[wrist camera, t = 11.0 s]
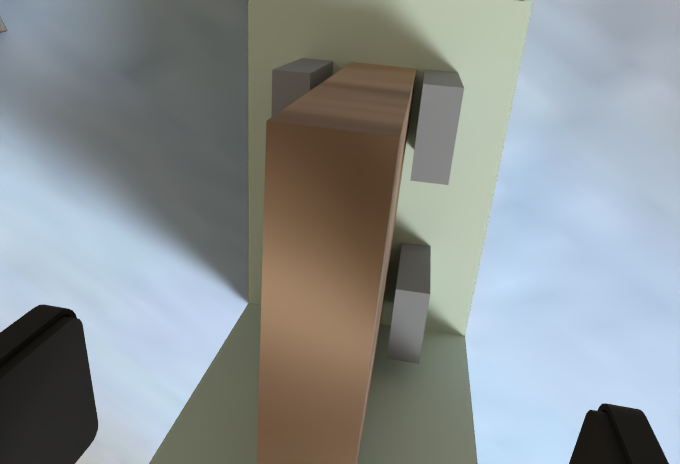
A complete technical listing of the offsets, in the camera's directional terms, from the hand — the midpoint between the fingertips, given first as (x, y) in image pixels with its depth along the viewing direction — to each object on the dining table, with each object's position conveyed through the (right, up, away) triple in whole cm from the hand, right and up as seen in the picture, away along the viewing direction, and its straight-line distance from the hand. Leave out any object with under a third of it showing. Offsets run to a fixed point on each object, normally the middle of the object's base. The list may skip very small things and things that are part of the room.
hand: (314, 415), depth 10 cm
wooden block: (+2, +5, +12) cm, 13 cm away
